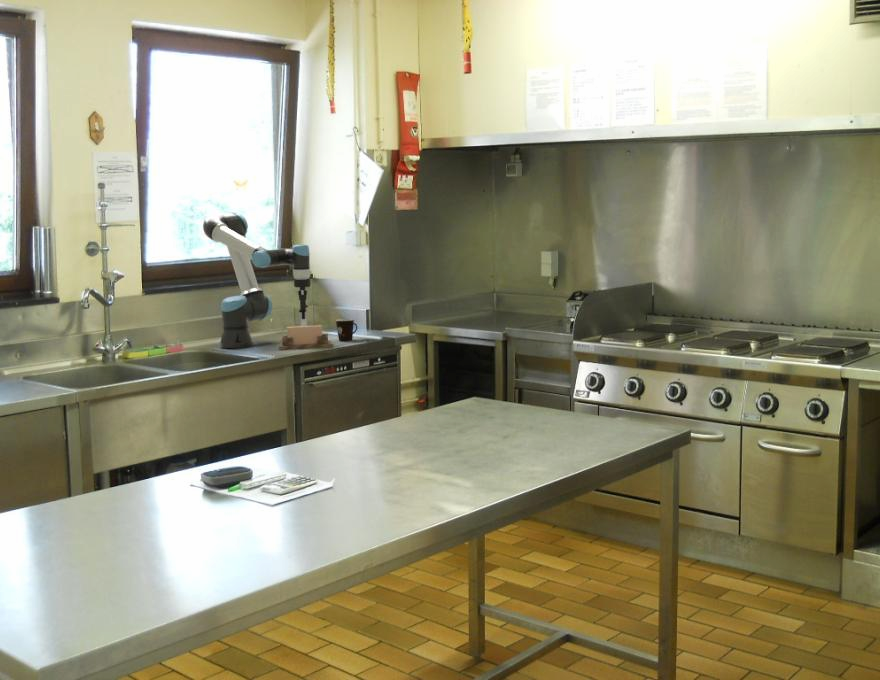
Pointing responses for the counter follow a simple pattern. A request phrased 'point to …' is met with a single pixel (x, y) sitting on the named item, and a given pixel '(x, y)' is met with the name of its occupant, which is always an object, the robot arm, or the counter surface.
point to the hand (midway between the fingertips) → (303, 323)
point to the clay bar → (304, 334)
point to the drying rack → (321, 343)
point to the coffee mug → (345, 329)
